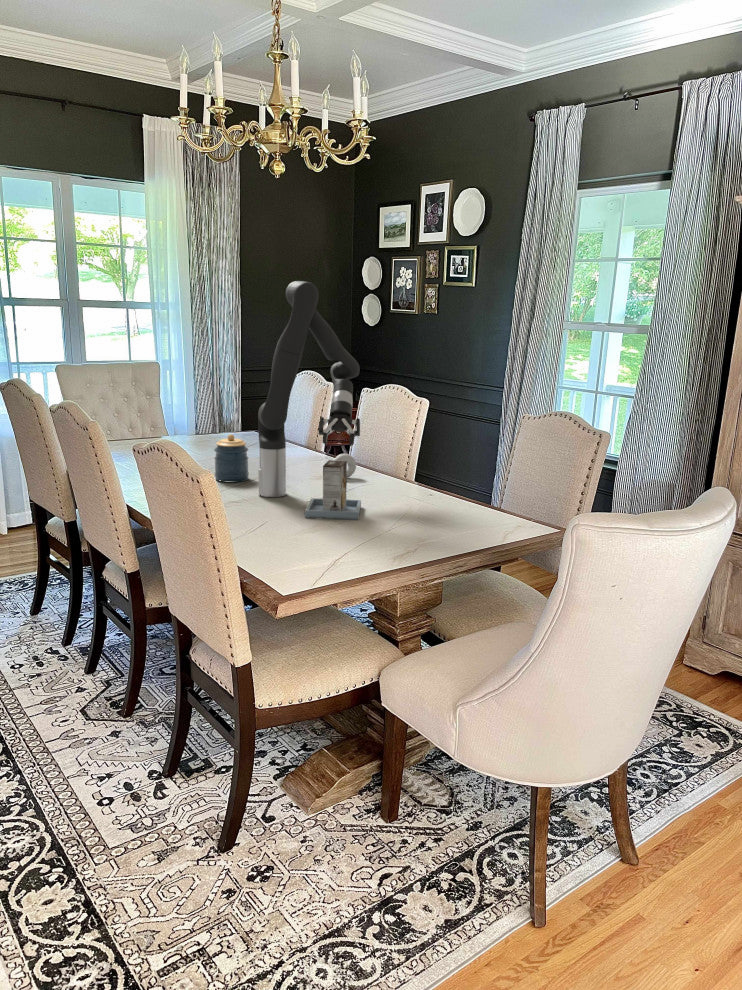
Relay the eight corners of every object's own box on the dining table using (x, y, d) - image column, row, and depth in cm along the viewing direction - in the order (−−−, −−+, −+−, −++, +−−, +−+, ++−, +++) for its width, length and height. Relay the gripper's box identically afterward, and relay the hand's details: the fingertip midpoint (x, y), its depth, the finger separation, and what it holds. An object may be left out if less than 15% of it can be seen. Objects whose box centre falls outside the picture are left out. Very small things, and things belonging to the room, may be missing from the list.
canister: (208, 480, 287) (206, 435, 283) (226, 474, 299) (224, 430, 295) (238, 484, 283) (237, 438, 279) (254, 477, 295) (254, 433, 290)
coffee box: (327, 506, 252) (328, 459, 249) (346, 507, 252) (347, 460, 248) (322, 513, 244) (322, 465, 240) (341, 514, 243) (342, 466, 239)
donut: (333, 480, 294) (333, 454, 291) (330, 478, 297) (330, 453, 294) (357, 478, 297) (357, 453, 295) (354, 476, 300) (354, 452, 298)
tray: (305, 518, 240) (305, 510, 239) (311, 505, 256) (311, 498, 255) (357, 520, 239) (358, 512, 239) (361, 507, 255) (361, 500, 254)
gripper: (320, 399, 260) (316, 437, 251) (361, 400, 259) (358, 438, 251) (322, 412, 266) (318, 449, 258) (362, 413, 265) (359, 451, 257)
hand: (338, 444), depth 254 cm, fingers open, 8 cm apart
